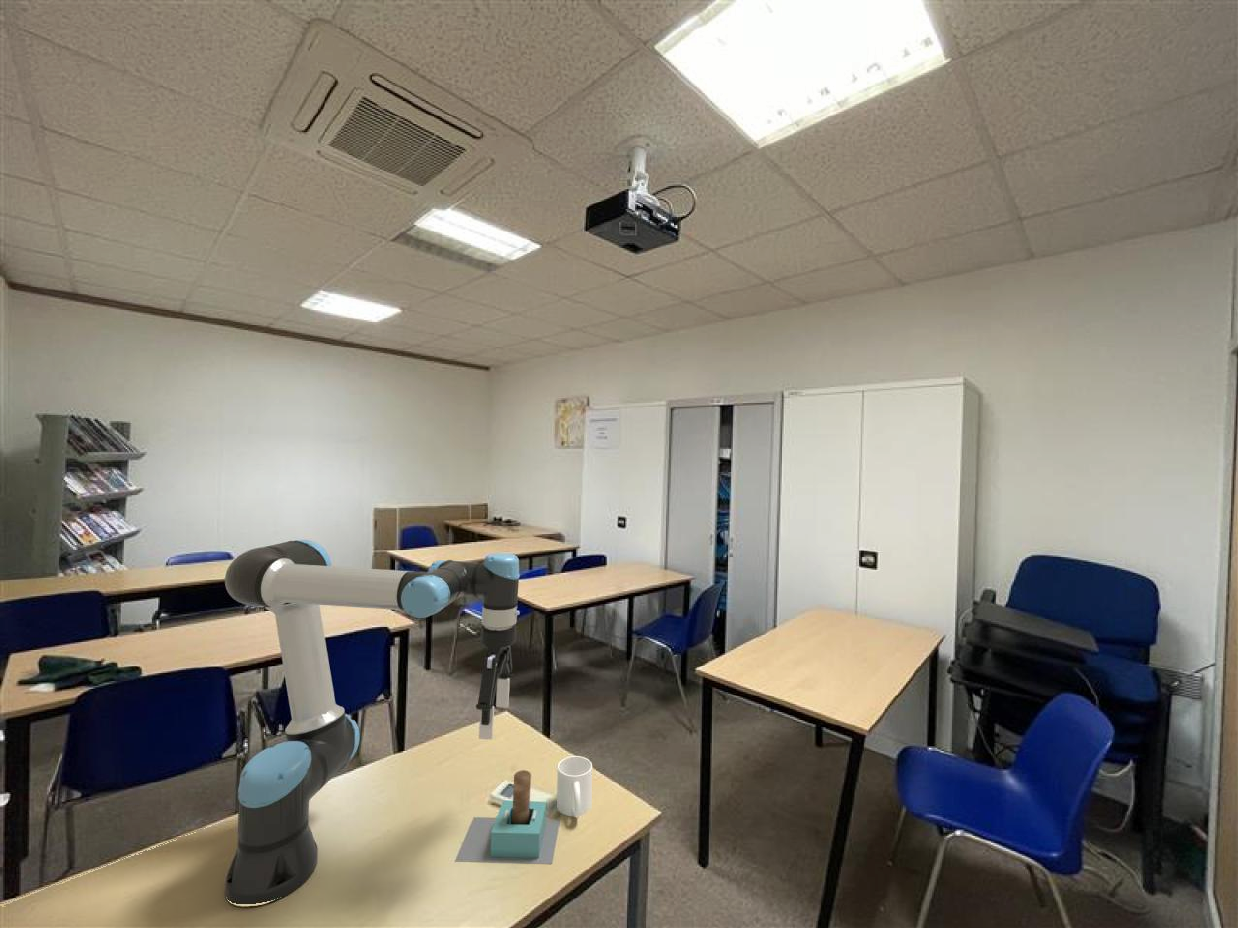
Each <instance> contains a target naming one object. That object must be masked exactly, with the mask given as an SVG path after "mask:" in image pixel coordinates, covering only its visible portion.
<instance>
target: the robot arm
mask: <svg viewBox="0 0 1238 928" xmlns="http://www.w3.org/2000/svg"><path fill="white" fill-rule="evenodd" d="M431 563H432V564H431V566H429V568H428V570H427V572H424V571H410V570H395V569H381V568H378V569H377V568H362V567H348V566H347V567H346V566H335V565H334V566H332V561H331V557H330V555H329V553H328V552H327V550H326V549H325V548H324V547H323V546H322V545H320V544H319V543H317V542H316V541H313V540H308V539H297V540H289V541H284V542H281V543H275V544H271V545H268V546H263V547H262V546H261V547H256V548H252V549H249V550H246V551H244V552H243V553H241V554H239V555H238V556H237V557H236V558H234V559H233V561H231V563H230V564H229V566H228V567H227V568H226V571H225V577H224V585H225V589H226V591H227V593H228V594H229V596H230V597H231V598H232V599H233V600H235V601H236V602H238V603H241V604H243V605H246V606H250V607H251V606H253V607H264V609H266V610H268V611H269V612H272V613H273V614H274V617H275V624H276V628H277V630H276V631H277V635H278V636H277V637H278V642H279V648H280V655H281V660H282V665H283V666H282V667H283V672H284V673H283V674H284V677H285V684H286V691H287V696H288V704H289V708H290V709H289V710H290V715H291V720H290V722H288V723H289V724H287V726H286V728H285V729H284V730H285V731H284V732H285V738H286V741H283V742H280V743H277V744H275V745H274V746H273V747H267V748H265V749H263V750H261V751H259V752H258V753H256V754H255V755H254V756H253V757H252V758H251V759H249V761H248V762H247V763H246V765H244V767H243V768H242V770H241V773H240V776H239V777H240V778H239V785H238V789H237V799H238V800H237V801H238V802H237V803H238V810H237V811H238V812H237V813H238V814H237V848H236V851H235V853H234V856H233V858H232V861H231V864H230V867H229V870H228V872H227V874H226V876H225V883H224V896H225V895H226V897H227V899H228V900H229V901H231V902H232V903H236V904H256V903H262V902H267V901H271V900H274V899H277V898H280V897H282V898H284V897H286V896H288V895H290V894H291V893H293V892H294V891H296V890H297V889H299V888H301V886H302V885H303V884H304V883H305V882H306V881H307V880H309V878H310V877H311V875H312V874H313V873H314V872H315V869H316V868H317V865H318V858H319V855H318V854H319V852H318V851H319V848H318V845H317V842H316V841H315V838H314V835H313V833H312V829H311V827H310V823H309V821H310V820H309V818H310V817H309V816H310V800H311V799H312V798H313V797H314V796H316V795H317V793H318V792H319V791H320V790H321V789H322V788H323V787H325V785H326V784H327V783H328V782H330V781H331V780H332V779H333V778H334V777H335V776H336V775H337V774H339V773H340V772H341V771H342V770H343V769H344V768H345V767H346V766H347V765H348V763H349V762H350V761H351V760H352V758H353V757H354V756H355V754H356V753H357V750H358V747H359V744H360V738H361V737H360V736H361V735H360V729H359V725H358V723H357V722H356V721H355V720H354V719H352V717H351V716H350V715H348V713H346V712H345V708H344V707H343V706H340V705H338V704H337V703H336V699H335V691H334V686H333V681H332V680H333V679H332V675H331V669H330V663H329V662H330V661H329V655H328V650H327V644H326V643H327V642H326V638H325V636H326V635H325V632H324V625H323V619H322V614H321V613H322V612H321V606H334V607H347V608H363V609H375V610H376V609H379V610H393V611H405V612H406V614H409V615H410V616H411V617H413V618H417V619H425V618H428V617H430V616H434V615H436V614H438V613H439V612H441V611H442V610H443V609H444V608H446V607H447V606H449V605H450V604H451V603H452V602H453V603H454V602H455V601H456V600H457V599H459V598H460V597H469V598H470V597H471V598H482V607H481V608H482V611H481V625H482V626H481V628H480V643H481V644H482V646H485V647H487V648H488V650H489V651H488V652H487V654H486V656H485V657H483V666H482V667H483V669H482V675H481V681H480V686H479V687H480V688H479V694H478V700H477V703H476V705H475V708H476V709H477V710H479V725H478V726H479V728H478V730H479V731H478V739H479V740H493V737H494V721H495V719H494V718H495V708H506V709H507V708H509V701H510V700H509V699H510V697H509V696H510V681H511V680H510V678H513V677H514V672H513V671H512V670H513V660H512V650H511V649H512V648H511V646H512V645H514V644H515V643H516V641H517V626H516V624H517V622H518V621H517V619H518V616H520V613H521V612H520V610H517V609H518V598H519V597H518V596H519V584H520V583H519V582H520V581H519V580H520V577H521V575H520V560H519V558H518V556H517V555H515V554H513V553H508V552H507V553H505V552H501V553H499V552H498V553H497V552H496V553H490V554H488V555H486V556H485V557H484V560H483V561H482V562H479V561H478V562H475V561H462V560H461V561H460V560H452V559H446V560H445V559H444V560H443V559H442V560H441V559H440V560H435V561H434V562H431ZM495 696H496V698H495ZM495 699H496V702H495V706H494V701H495ZM283 896H284V897H283ZM226 897H225V898H226ZM227 899H226V900H227ZM280 899H281V898H280Z"/></svg>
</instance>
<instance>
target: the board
mask: <svg viewBox="0 0 1238 928" xmlns="http://www.w3.org/2000/svg"><path fill="white" fill-rule="evenodd" d="M496 818H497V817H488V816H487V817H484V816H482V817H480V816H479V817H478V816H473V818H472V821H471V822H470V825H469V827H468V830H467V832H466V834H465V837H464V838H463V841H462V843H461V846H460V849H459V850H458V853H457V856H456V858H455V860H454V862H455V863H456V862H459V863H461V862H463V863H492V864H527V865H553V861H554V858H555V857H554V856H555V850H556V845H557V840H558V839H557V838H558V834H559V828H560V822H561V819H557V818H556V819H555V818H554V819H553V818H552V819H551V818H546V827H545V832H544V836H543V841H542V845H541V850H540V855H539V858H521V857H491V832H492V829H493V826H494V824H495V821H496Z"/></svg>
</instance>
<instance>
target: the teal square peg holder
mask: <svg viewBox="0 0 1238 928" xmlns="http://www.w3.org/2000/svg"><path fill="white" fill-rule="evenodd" d="M547 803H548V802H547V801H536V800H535V801H534V800H533V801H531V800H530V808H529V825H515V824H512V813H513V800H505V799H504V800H502V801H501V804H500V808H499V810H498V813H497V815H496V817H495V818H496V821H495V824H494V826H493V829H492V832H491V857H521V858H539V855H540V850H541V845H542V841H543V836H544V832H545V827H546V819H547V809H548V808H547V807H548V806H547Z"/></svg>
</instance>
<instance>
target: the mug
mask: <svg viewBox="0 0 1238 928" xmlns="http://www.w3.org/2000/svg"><path fill="white" fill-rule="evenodd" d="M556 781H557V782H556V783H557V784H556V787H557V788H556V791H557V792H556V808H557V807H558V808H557V810H558V812H559V813H560V814H562V815H564V816H568V817H574V818H575V819H578V818H580V816H582V815H585V814H586V813H588V811H590V809H591V807H592V795H593V794H592V790H593V787H592V785H593V763H592V762H591V760H590V759H588V758H587V757H584V756H582V755H581V756H580V755H572V756H571V755H570V756H567V757H565V758H563V759H561V760H560V761H559V762H558V764H557V780H556Z"/></svg>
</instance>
